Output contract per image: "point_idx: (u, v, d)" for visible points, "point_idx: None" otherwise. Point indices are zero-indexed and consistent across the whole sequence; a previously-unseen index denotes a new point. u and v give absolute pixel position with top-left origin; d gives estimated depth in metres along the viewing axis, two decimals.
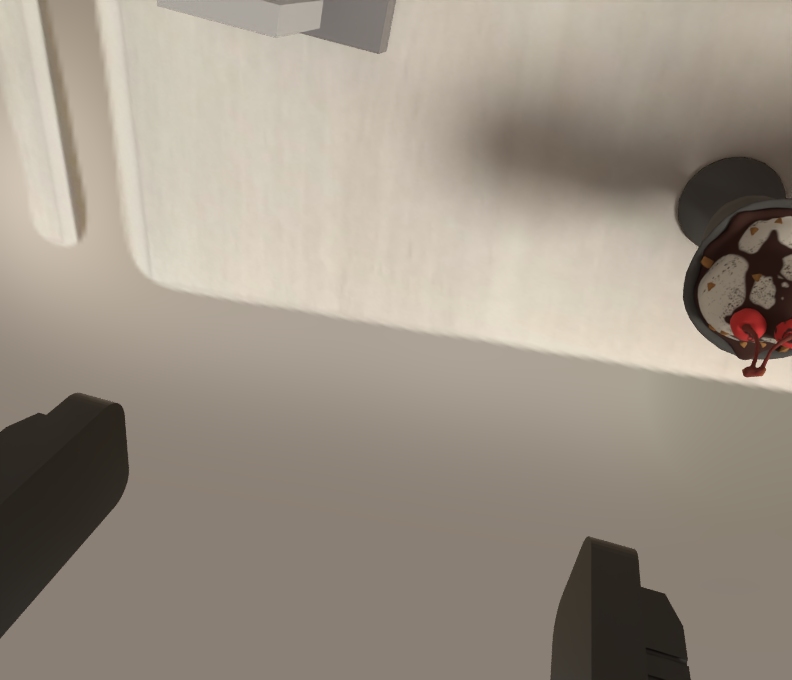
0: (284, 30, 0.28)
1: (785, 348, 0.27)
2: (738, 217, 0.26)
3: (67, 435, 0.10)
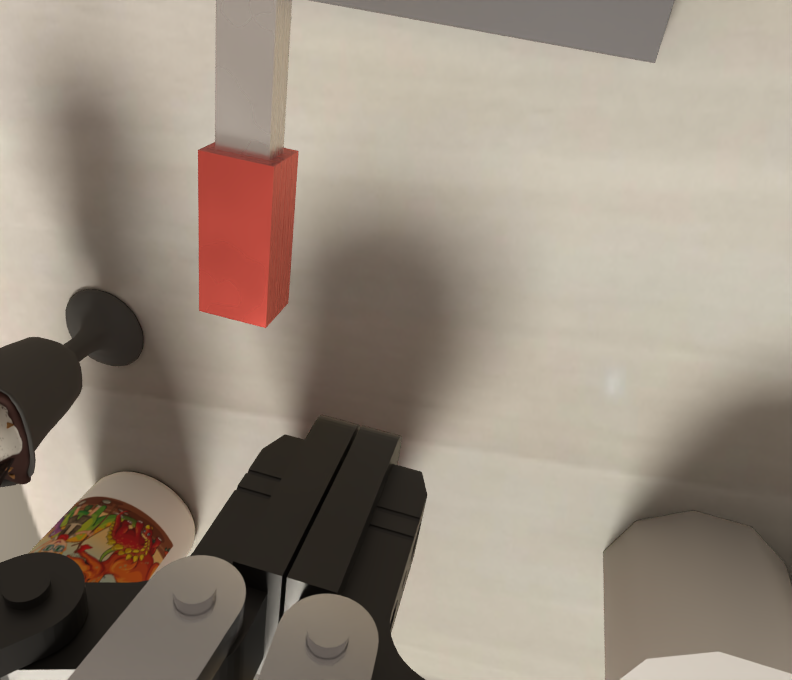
0: None
1: None
2: (2, 396, 0.30)
3: (333, 458, 0.11)
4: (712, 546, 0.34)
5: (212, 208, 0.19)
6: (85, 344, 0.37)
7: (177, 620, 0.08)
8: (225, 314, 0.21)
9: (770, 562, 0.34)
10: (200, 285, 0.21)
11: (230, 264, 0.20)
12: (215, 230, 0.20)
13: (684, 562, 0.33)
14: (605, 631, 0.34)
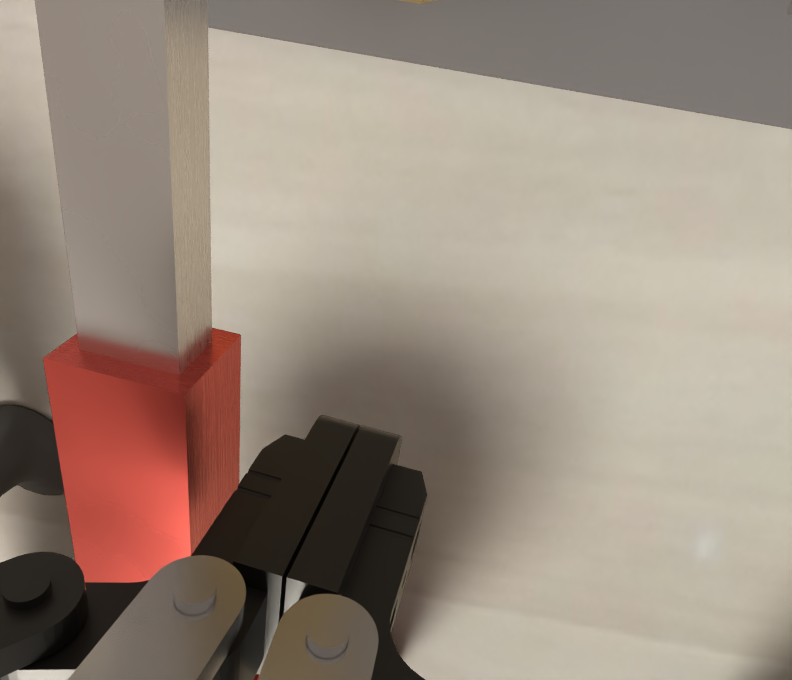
0: None
1: None
2: None
3: (333, 458, 0.11)
4: None
5: (81, 450, 0.11)
6: (0, 481, 0.28)
7: (177, 620, 0.08)
8: None
9: None
10: (78, 556, 0.12)
11: (123, 535, 0.11)
12: (91, 484, 0.11)
13: None
14: None
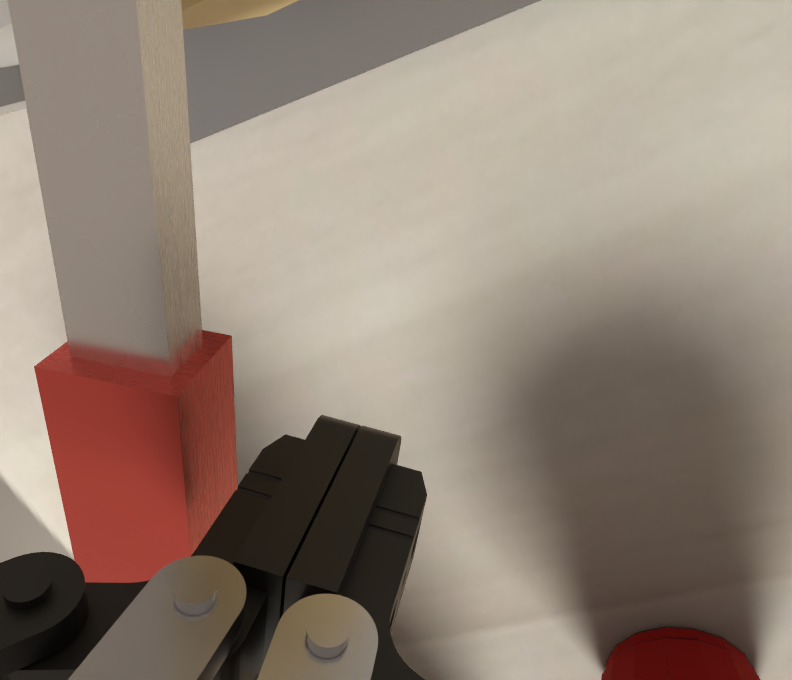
0: None
1: None
2: None
3: (333, 458, 0.11)
4: None
5: (77, 458, 0.11)
6: None
7: (177, 620, 0.08)
8: None
9: None
10: (79, 565, 0.12)
11: (123, 541, 0.11)
12: (88, 491, 0.11)
13: None
14: None
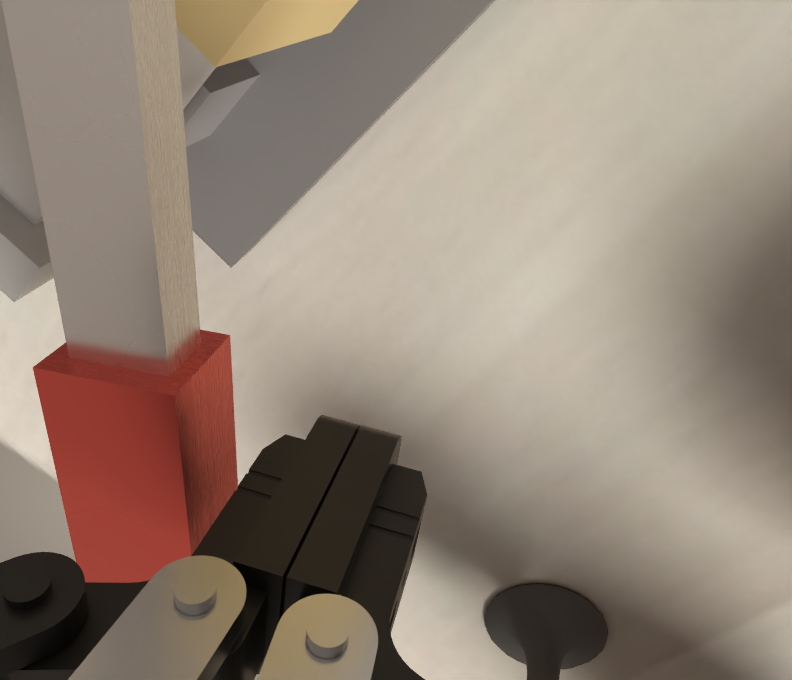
0: (44, 280, 0.15)
1: None
2: None
3: (333, 458, 0.11)
4: None
5: (76, 458, 0.11)
6: (546, 668, 0.26)
7: (177, 620, 0.08)
8: None
9: None
10: (81, 565, 0.12)
11: (123, 541, 0.11)
12: (88, 491, 0.11)
13: None
14: None
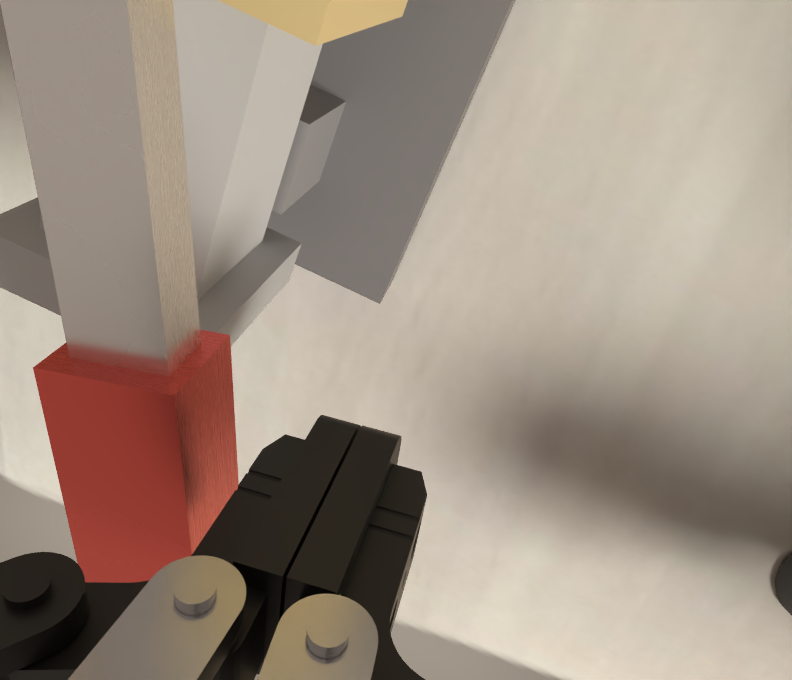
0: None
1: None
2: None
3: (333, 458, 0.11)
4: None
5: (77, 458, 0.11)
6: None
7: (178, 620, 0.08)
8: None
9: None
10: (82, 565, 0.12)
11: (124, 541, 0.11)
12: (89, 491, 0.11)
13: None
14: None
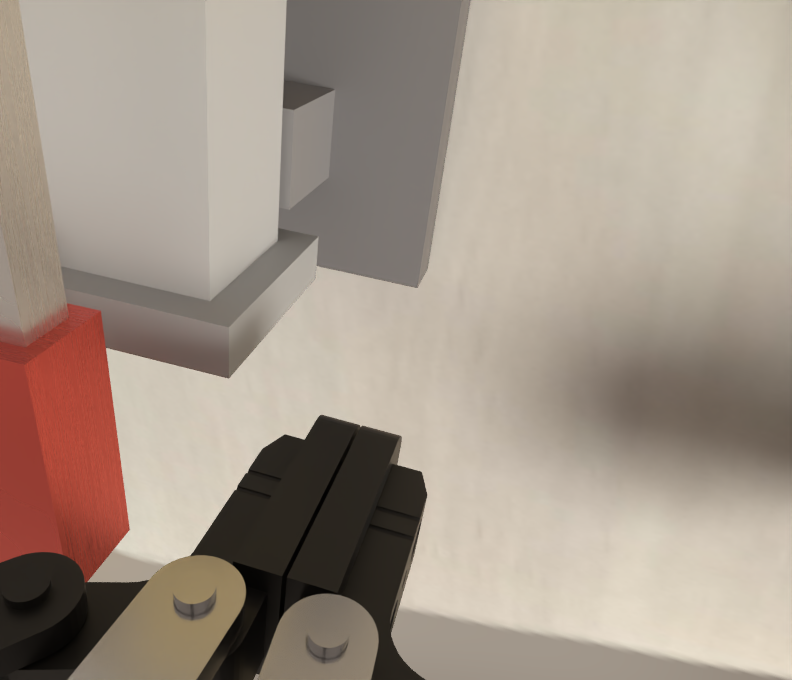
0: (245, 350, 0.15)
1: None
2: None
3: (333, 458, 0.11)
4: None
5: None
6: None
7: (177, 620, 0.08)
8: None
9: None
10: None
11: None
12: None
13: None
14: None
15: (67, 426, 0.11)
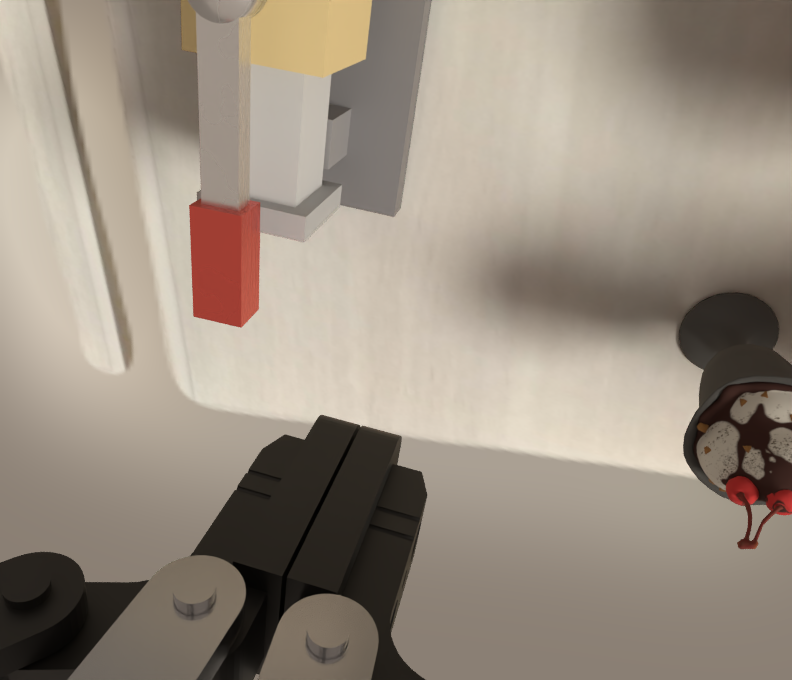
0: (310, 231, 0.31)
1: None
2: (728, 390, 0.28)
3: (333, 458, 0.11)
4: None
5: (200, 244, 0.28)
6: (732, 346, 0.35)
7: (177, 620, 0.08)
8: (212, 318, 0.29)
9: None
10: (194, 298, 0.29)
11: (214, 283, 0.28)
12: (203, 259, 0.28)
13: None
14: None
15: (247, 247, 0.28)
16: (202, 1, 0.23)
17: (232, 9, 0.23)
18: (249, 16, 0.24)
